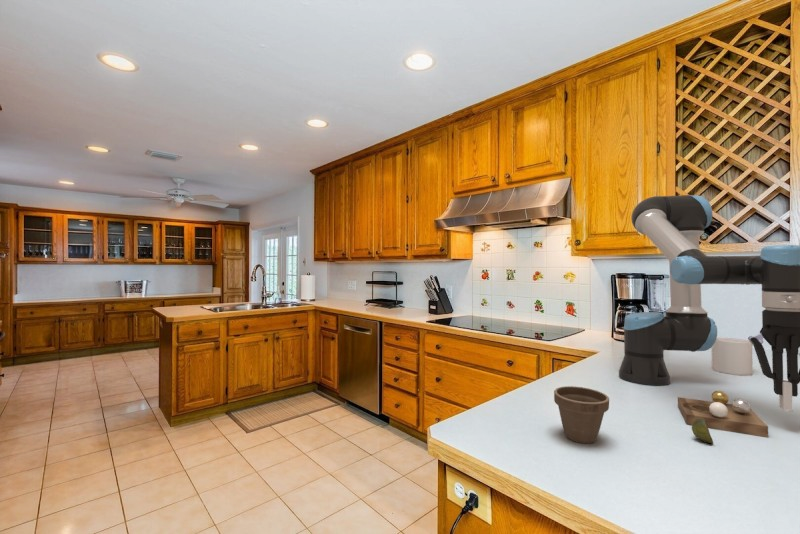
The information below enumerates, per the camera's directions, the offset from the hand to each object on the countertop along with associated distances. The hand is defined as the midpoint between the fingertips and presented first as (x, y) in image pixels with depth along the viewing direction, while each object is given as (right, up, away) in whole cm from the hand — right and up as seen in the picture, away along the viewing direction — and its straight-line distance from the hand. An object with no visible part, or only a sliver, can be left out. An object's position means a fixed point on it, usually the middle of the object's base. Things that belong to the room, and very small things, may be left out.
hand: (785, 408), depth 91 cm
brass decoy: (-7, -1, +11) cm, 13 cm away
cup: (+34, -6, +54) cm, 65 cm away
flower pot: (-51, -5, -4) cm, 51 cm away
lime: (-24, -5, -6) cm, 25 cm away
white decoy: (-15, -1, +2) cm, 15 cm away
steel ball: (-7, -1, +4) cm, 8 cm away
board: (-11, -5, +6) cm, 14 cm away
